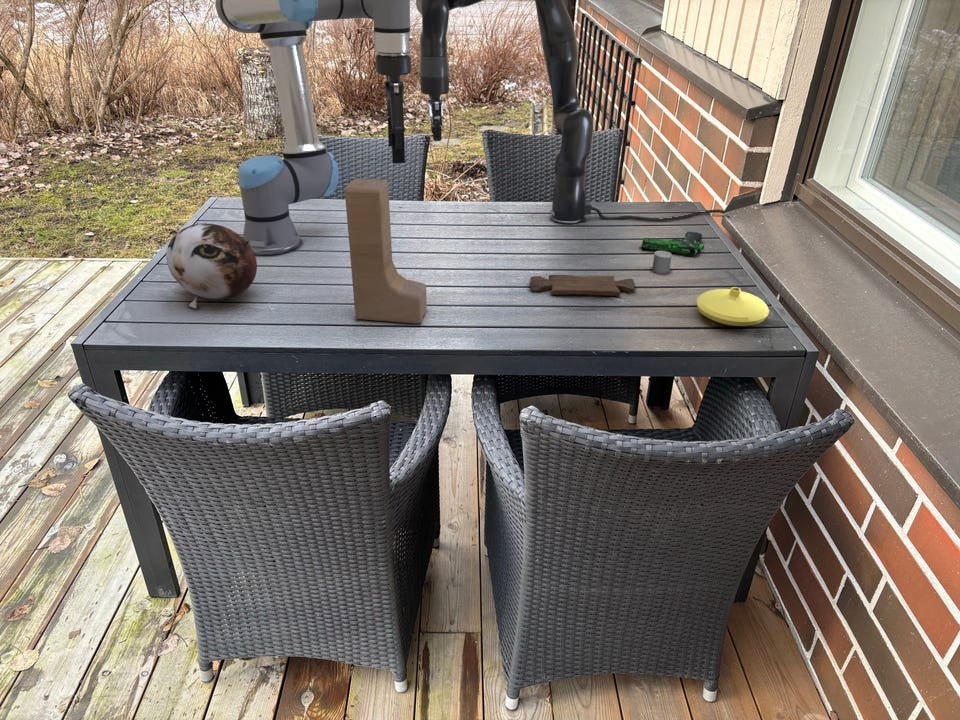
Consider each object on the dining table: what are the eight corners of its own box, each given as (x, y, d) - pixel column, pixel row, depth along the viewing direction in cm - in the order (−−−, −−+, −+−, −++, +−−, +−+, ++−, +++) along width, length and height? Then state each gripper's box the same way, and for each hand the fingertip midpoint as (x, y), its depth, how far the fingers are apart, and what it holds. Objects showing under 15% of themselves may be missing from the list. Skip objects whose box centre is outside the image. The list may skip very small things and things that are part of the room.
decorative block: (420, 325, 158) (416, 192, 142) (354, 319, 159) (343, 187, 144) (427, 309, 164) (423, 181, 149) (363, 305, 166) (354, 177, 150)
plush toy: (130, 285, 161) (164, 203, 163) (192, 308, 177) (221, 233, 178) (195, 307, 151) (229, 220, 152) (254, 330, 166) (285, 250, 168)
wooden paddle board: (638, 298, 171) (631, 281, 180) (639, 292, 170) (632, 275, 179) (530, 294, 172) (529, 277, 180) (531, 288, 171) (529, 271, 179)
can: (656, 274, 184) (659, 257, 181) (649, 268, 187) (651, 251, 185) (672, 273, 184) (674, 256, 182) (664, 266, 188) (667, 250, 186)
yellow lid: (708, 296, 172) (714, 269, 169) (775, 314, 165) (782, 286, 161) (683, 320, 161) (688, 292, 158) (753, 340, 154) (760, 311, 150)
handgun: (708, 232, 202) (701, 248, 190) (707, 242, 204) (700, 259, 192) (651, 225, 208) (641, 240, 196) (650, 234, 209) (639, 251, 197)
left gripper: (416, 63, 141) (418, 170, 152) (406, 44, 162) (408, 139, 173) (377, 63, 140) (382, 170, 151) (372, 44, 161) (377, 140, 172)
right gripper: (450, 78, 181) (452, 143, 189) (446, 68, 193) (448, 130, 201) (421, 78, 180) (423, 143, 188) (418, 69, 192) (421, 131, 200)
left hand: (396, 154), depth 162 cm, fingers open, 13 cm apart
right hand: (436, 136), depth 195 cm, fingers open, 8 cm apart
